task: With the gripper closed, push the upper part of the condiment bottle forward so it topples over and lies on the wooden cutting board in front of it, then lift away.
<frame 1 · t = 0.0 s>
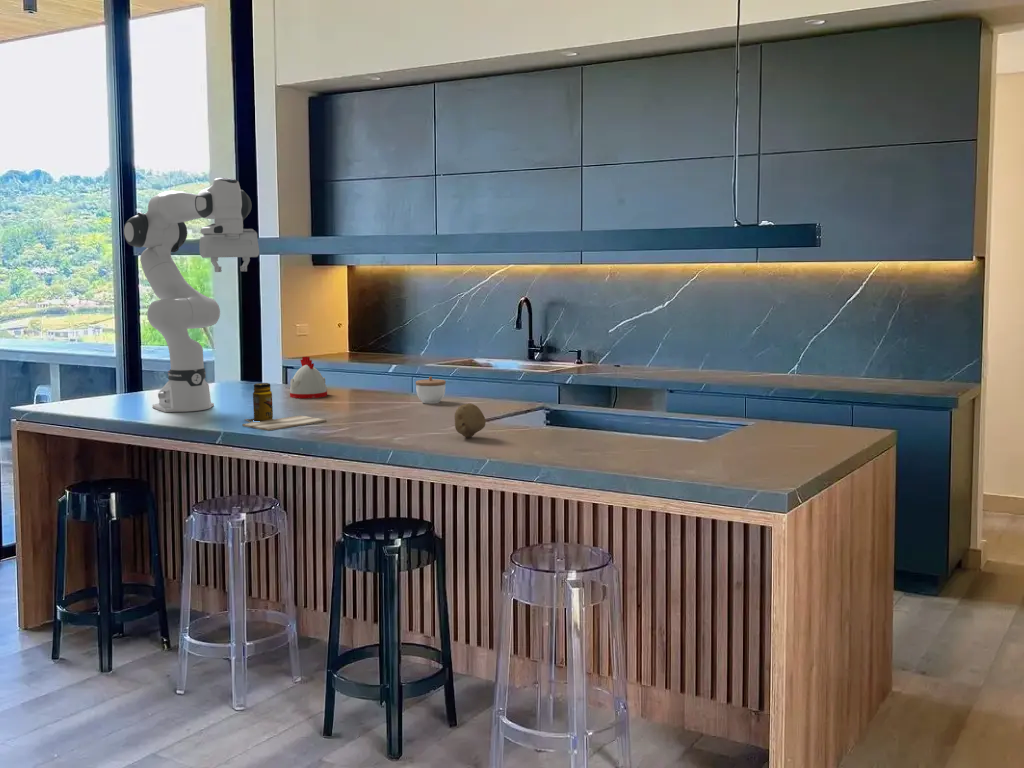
hand: (231, 271, 338), 48 cm above the worktop, fingers open, 8 cm apart
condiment: (260, 421, 339), on the worktop
lidded jar: (431, 403, 374), on the worktop
kitchen timer: (308, 396, 396), on the worktop
wooden cutting board: (284, 423, 331), on the worktop
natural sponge: (470, 438, 302), on the worktop
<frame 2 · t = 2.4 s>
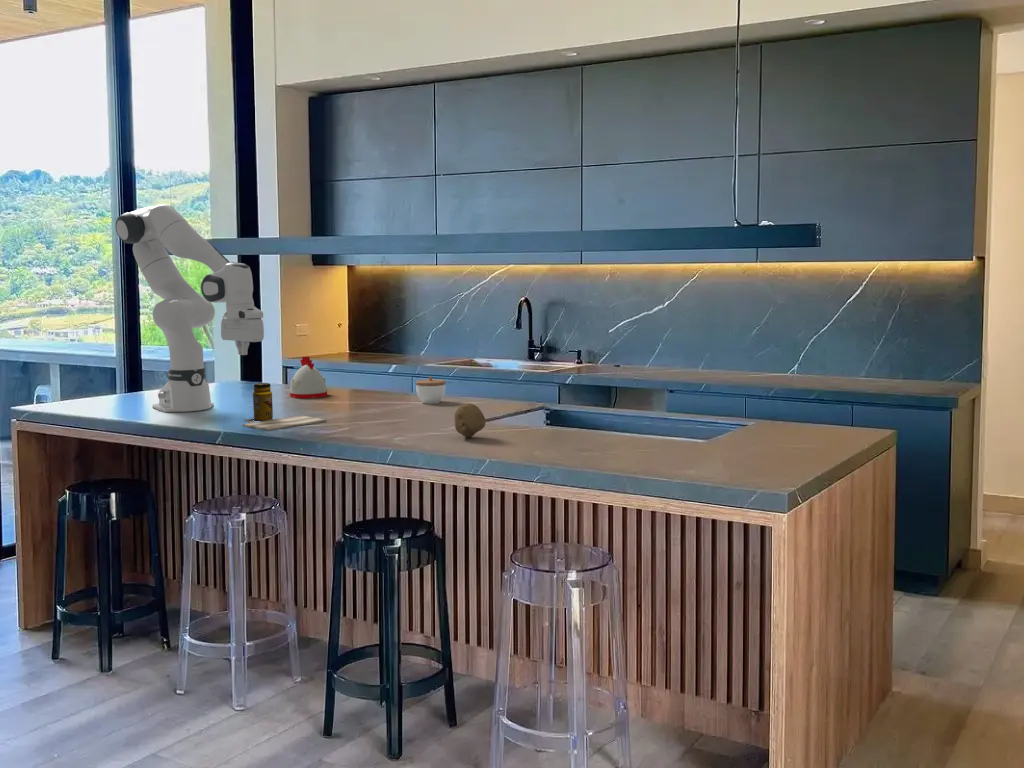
hand: (242, 354, 342), 21 cm above the worktop, fingers closed
nothing on the worktop moved.
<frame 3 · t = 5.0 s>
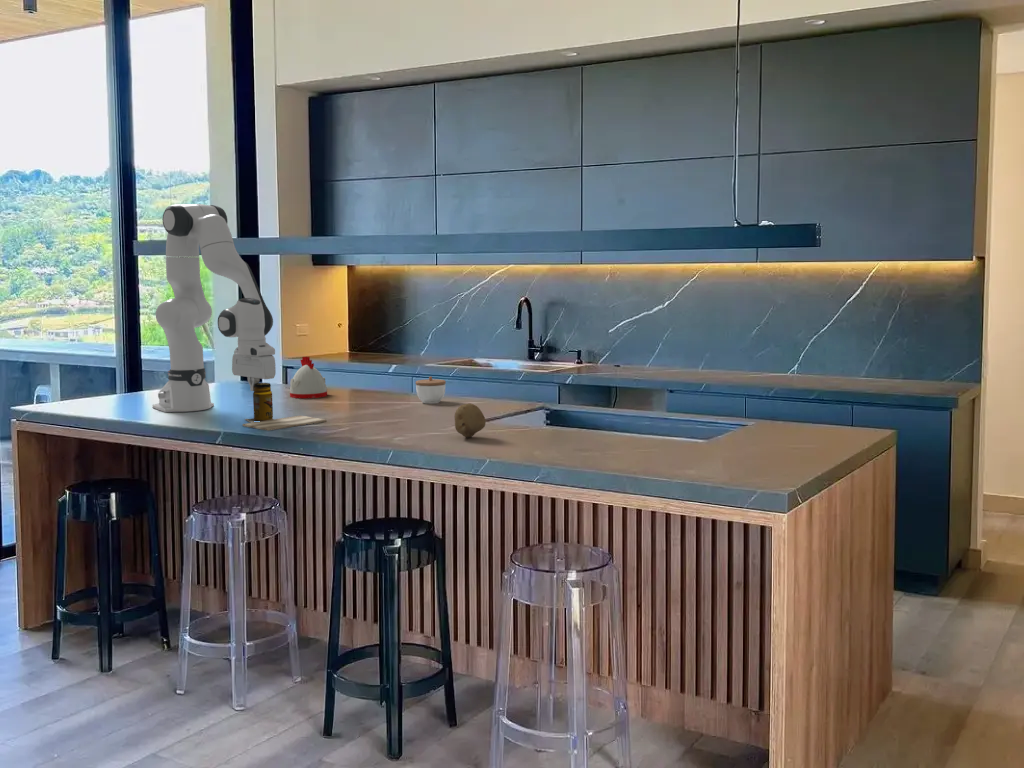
hand: (254, 390, 340), 9 cm above the worktop, fingers closed, pressing on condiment
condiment: (260, 421, 339), on the worktop, touching gripper
everything else where it was.
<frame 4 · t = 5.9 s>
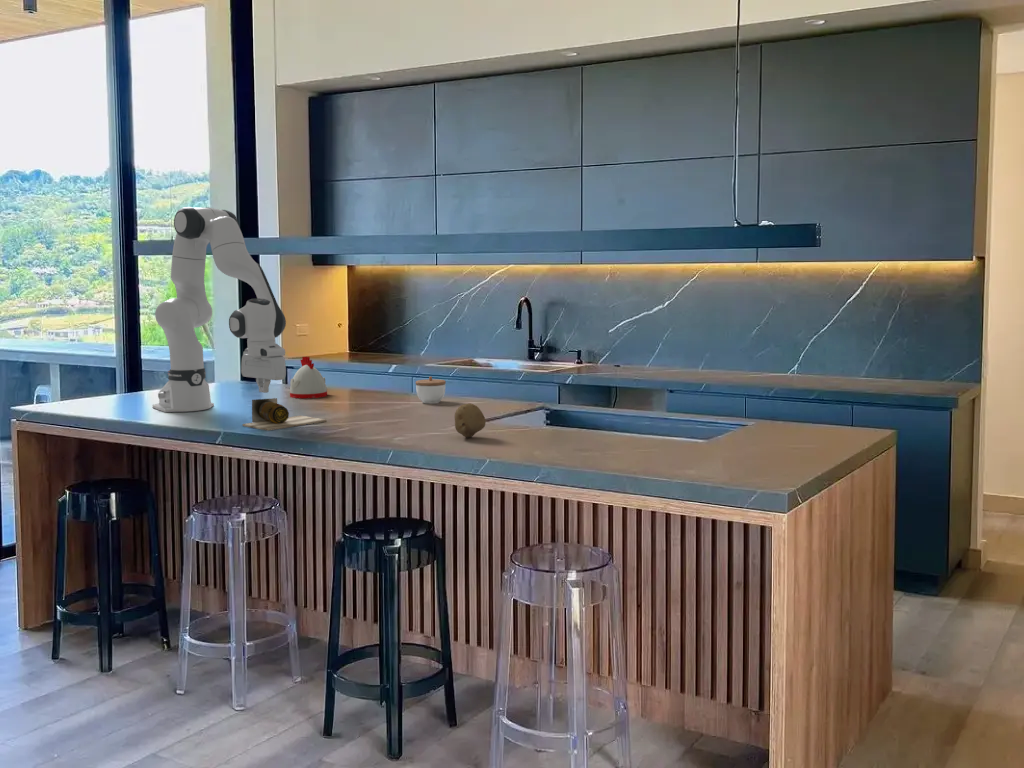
hand: (263, 392, 336), 9 cm above the worktop, fingers closed
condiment: (264, 410, 336), point 4 cm above the worktop, touching wooden cutting board
everything else where it was.
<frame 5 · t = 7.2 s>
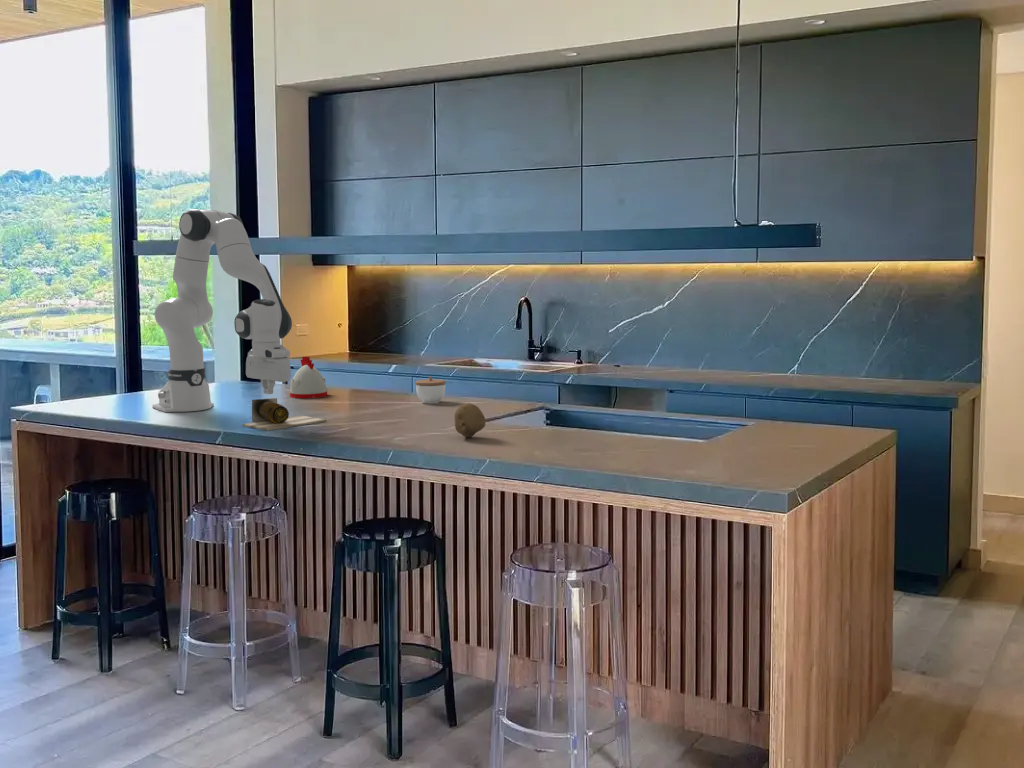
hand: (268, 393, 334), 9 cm above the worktop, fingers closed
nothing on the worktop moved.
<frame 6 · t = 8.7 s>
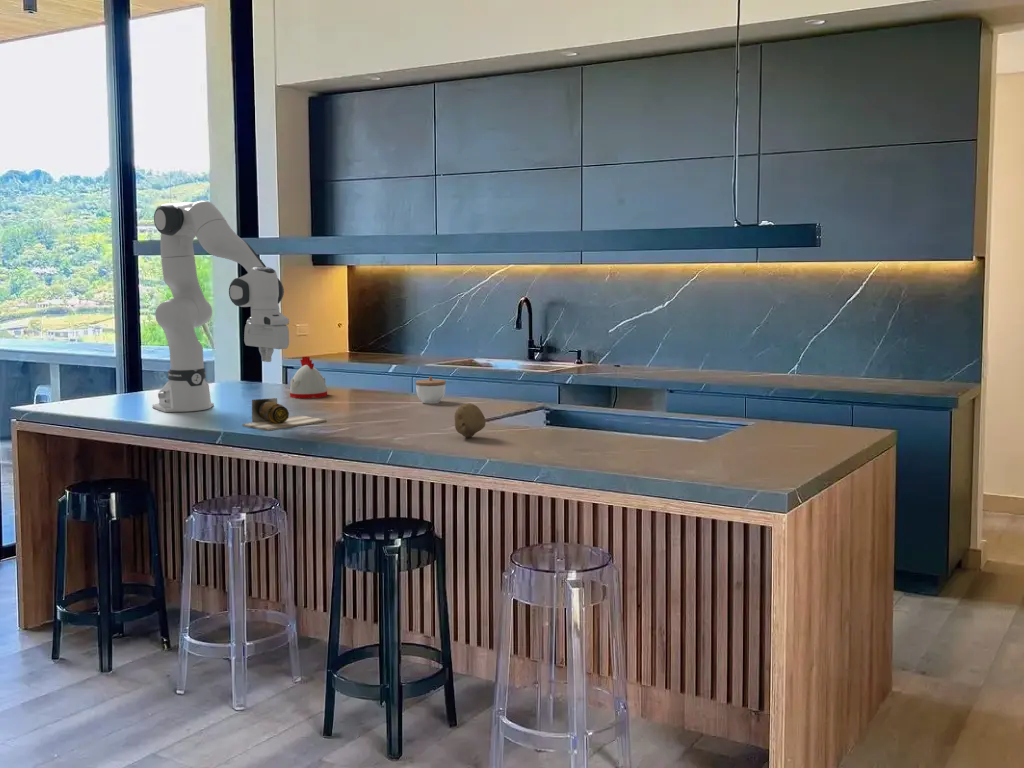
hand: (266, 361, 333), 19 cm above the worktop, fingers closed
nothing on the worktop moved.
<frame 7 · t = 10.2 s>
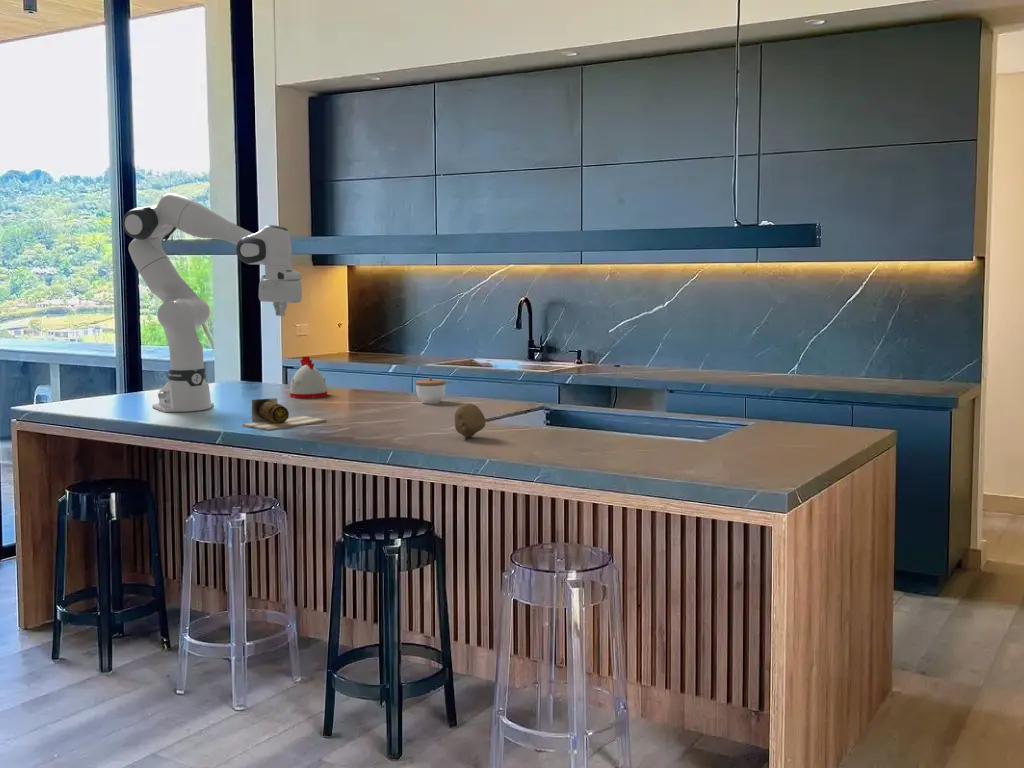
hand: (280, 315, 349), 33 cm above the worktop, fingers closed
nothing on the worktop moved.
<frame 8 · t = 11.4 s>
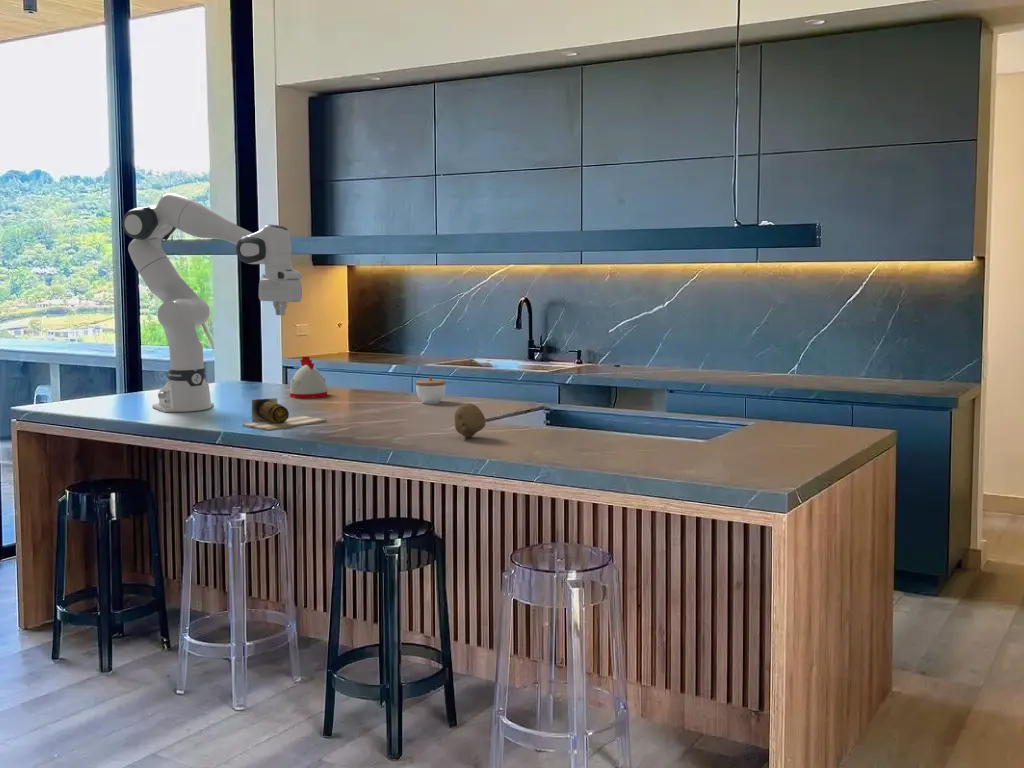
hand: (280, 315, 349), 33 cm above the worktop, fingers closed
nothing on the worktop moved.
at the end: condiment tilted 90°; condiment touching wooden cutting board, worktop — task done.
